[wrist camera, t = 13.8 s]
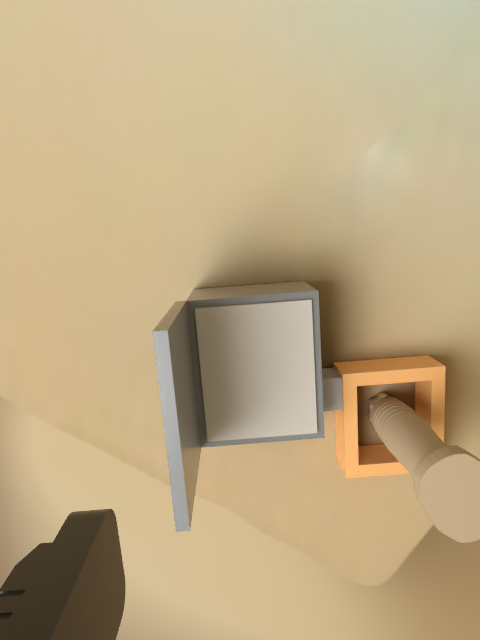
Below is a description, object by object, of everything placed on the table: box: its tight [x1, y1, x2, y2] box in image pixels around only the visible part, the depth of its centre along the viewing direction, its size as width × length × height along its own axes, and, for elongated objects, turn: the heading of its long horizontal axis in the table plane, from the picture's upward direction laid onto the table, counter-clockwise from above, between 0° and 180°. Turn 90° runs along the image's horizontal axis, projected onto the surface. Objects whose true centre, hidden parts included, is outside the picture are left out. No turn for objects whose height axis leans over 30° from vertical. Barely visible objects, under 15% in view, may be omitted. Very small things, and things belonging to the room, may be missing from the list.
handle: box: [368, 393, 480, 543], centre depth 35 cm, size 5×6×15 cm
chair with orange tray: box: [153, 281, 446, 532], centre depth 33 cm, size 18×22×17 cm
